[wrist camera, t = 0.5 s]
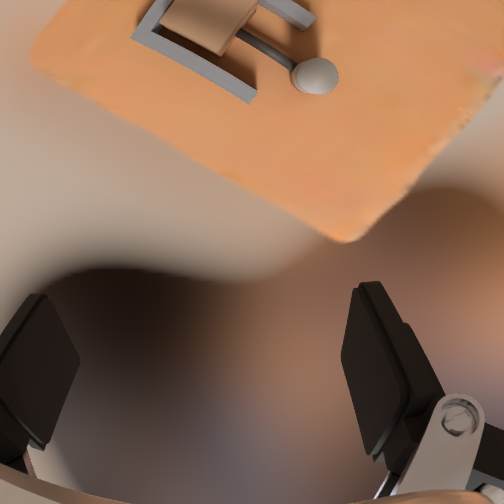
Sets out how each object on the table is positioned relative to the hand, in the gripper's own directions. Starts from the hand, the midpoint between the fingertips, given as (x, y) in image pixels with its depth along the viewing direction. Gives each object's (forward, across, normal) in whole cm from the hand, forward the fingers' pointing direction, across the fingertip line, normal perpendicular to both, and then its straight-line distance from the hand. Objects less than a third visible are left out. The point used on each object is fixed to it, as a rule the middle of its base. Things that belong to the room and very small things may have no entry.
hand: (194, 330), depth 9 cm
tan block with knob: (+26, -3, -11) cm, 28 cm away
